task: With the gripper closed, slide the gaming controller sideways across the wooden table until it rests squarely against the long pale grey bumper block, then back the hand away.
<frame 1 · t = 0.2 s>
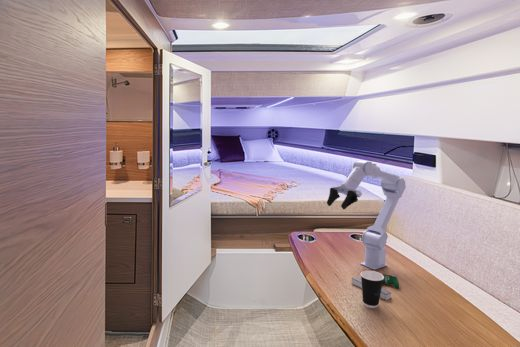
hand: (335, 206, 130), 31 cm above the table, tool tilted 50°, fingers open, 7 cm apart
gaming controller: (386, 285, 129), on the table
bumper: (370, 290, 124), on the table
dixie cup: (370, 305, 113), on the table
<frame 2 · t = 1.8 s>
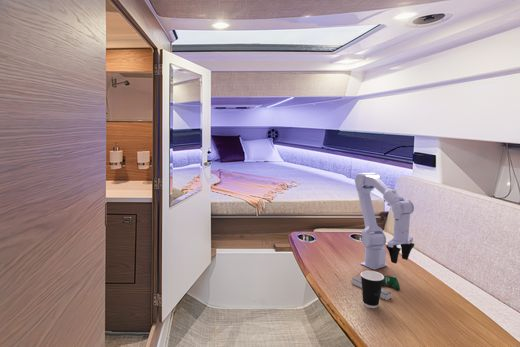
hand: (399, 260, 132), 8 cm above the table, tool pointing down, fingers open, 7 cm apart
nothing on the table moved.
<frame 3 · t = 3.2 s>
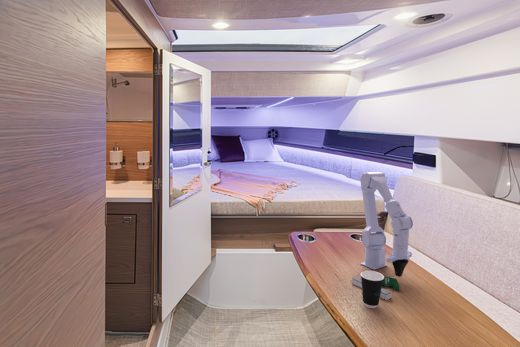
hand: (398, 275, 133), 2 cm above the table, tool pointing down, fingers closed
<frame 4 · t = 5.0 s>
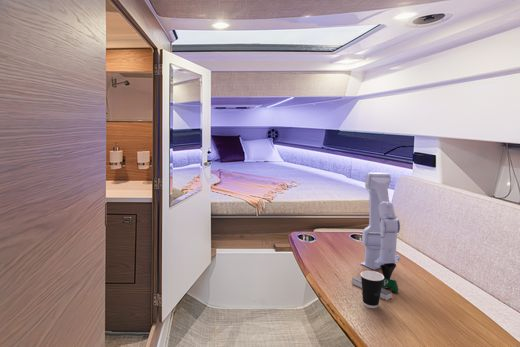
hand: (386, 280, 129), 2 cm above the table, tool pointing down, fingers closed, pressing on gaming controller
gaming controller: (385, 289, 125), on the table, touching bumper, gripper
everything else where it was.
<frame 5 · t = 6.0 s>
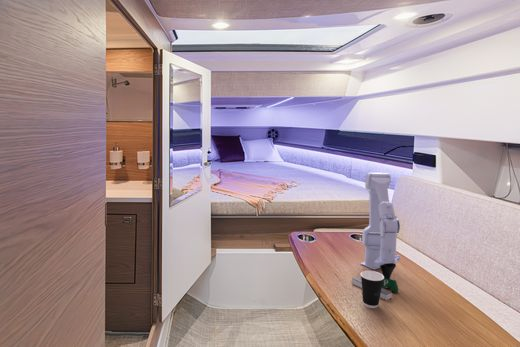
hand: (386, 280, 129), 2 cm above the table, tool pointing down, fingers closed, pressing on gaming controller
gaming controller: (385, 289, 125), on the table, touching bumper, gripper
everything else where it was.
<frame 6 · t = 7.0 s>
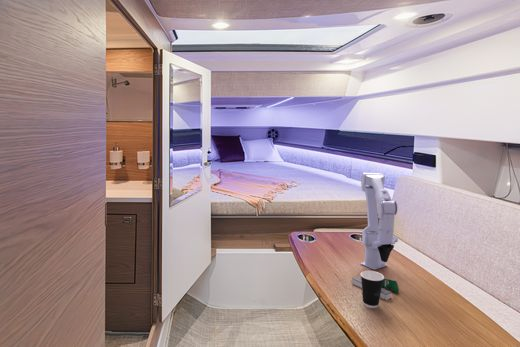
hand: (384, 261, 132), 8 cm above the table, tool pointing down, fingers closed
gaming controller: (385, 290, 125), on the table
everything else where it was.
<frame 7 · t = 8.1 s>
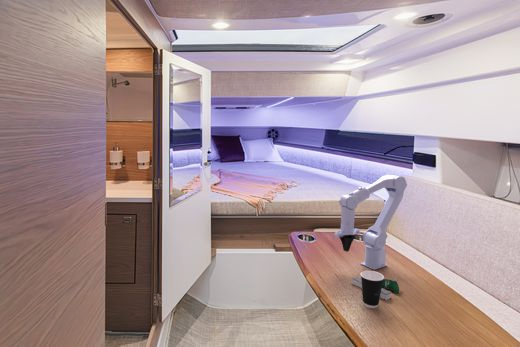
hand: (346, 250, 144), 8 cm above the table, tool pointing down, fingers closed
nothing on the table moved.
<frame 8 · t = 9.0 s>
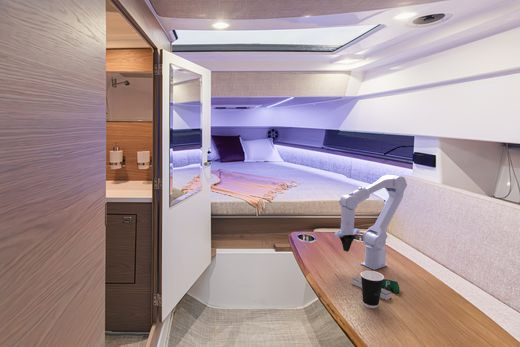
hand: (346, 250, 144), 8 cm above the table, tool pointing down, fingers closed
nothing on the table moved.
at the end: gaming controller inside the target area on the table beside the bumper (3.3 cm from its centre), on the table; gaming controller tilted 0° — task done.
